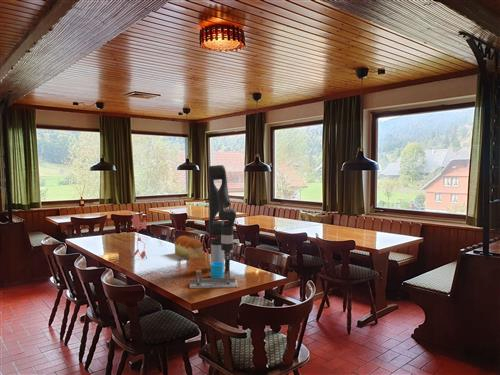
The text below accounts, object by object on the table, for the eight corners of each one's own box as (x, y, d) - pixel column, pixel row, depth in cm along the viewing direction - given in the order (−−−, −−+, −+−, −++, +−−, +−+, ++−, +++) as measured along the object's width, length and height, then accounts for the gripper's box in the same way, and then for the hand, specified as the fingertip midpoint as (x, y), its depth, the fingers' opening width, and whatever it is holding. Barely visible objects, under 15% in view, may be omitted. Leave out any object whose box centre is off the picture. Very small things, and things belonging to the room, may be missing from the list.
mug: (215, 278, 240) (215, 266, 240) (208, 275, 247) (208, 263, 246) (230, 275, 247) (230, 263, 247) (223, 272, 254) (223, 260, 254)
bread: (203, 257, 298) (203, 239, 297) (188, 260, 290) (188, 240, 290) (188, 252, 318) (188, 234, 317) (174, 254, 310) (174, 236, 310)
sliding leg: (224, 278, 232) (224, 262, 232) (229, 278, 233) (229, 262, 232) (225, 282, 224) (225, 265, 224) (230, 282, 225) (230, 265, 224)
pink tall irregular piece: (136, 254, 308) (135, 211, 305) (153, 259, 289) (152, 214, 287) (118, 257, 297) (117, 213, 295) (134, 263, 279) (133, 216, 276)
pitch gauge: (190, 283, 230) (190, 270, 230) (236, 282, 233) (236, 269, 233) (189, 288, 220) (189, 274, 220) (237, 287, 223) (237, 273, 223)
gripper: (220, 239, 236) (220, 267, 237) (221, 244, 222) (221, 273, 223) (232, 239, 237) (232, 267, 238) (234, 244, 223) (234, 273, 224)
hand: (227, 270), depth 230 cm, fingers closed on sliding leg, 3 cm apart
